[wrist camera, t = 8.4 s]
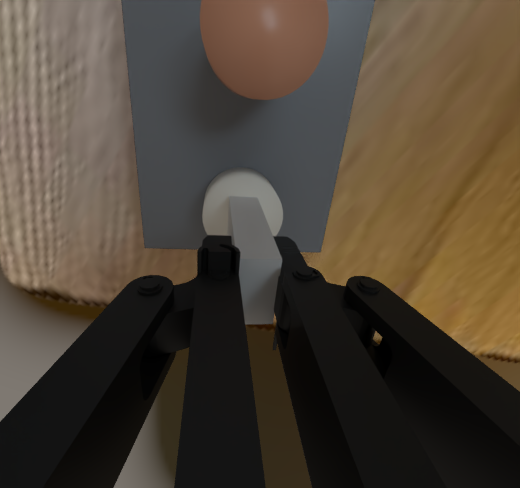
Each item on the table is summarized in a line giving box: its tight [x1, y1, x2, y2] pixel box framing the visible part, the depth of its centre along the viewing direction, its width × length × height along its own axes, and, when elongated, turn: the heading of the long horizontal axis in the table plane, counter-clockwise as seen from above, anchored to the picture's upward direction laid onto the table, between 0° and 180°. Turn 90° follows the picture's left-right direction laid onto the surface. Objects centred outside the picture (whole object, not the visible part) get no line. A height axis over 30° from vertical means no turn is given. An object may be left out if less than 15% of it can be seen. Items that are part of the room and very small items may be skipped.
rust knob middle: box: [200, 0, 329, 100], centre depth 13 cm, size 4×4×7 cm
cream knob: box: [202, 167, 283, 236], centre depth 19 cm, size 4×4×7 cm
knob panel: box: [122, 0, 375, 252], centre depth 17 cm, size 12×23×5 cm, turn 174°
